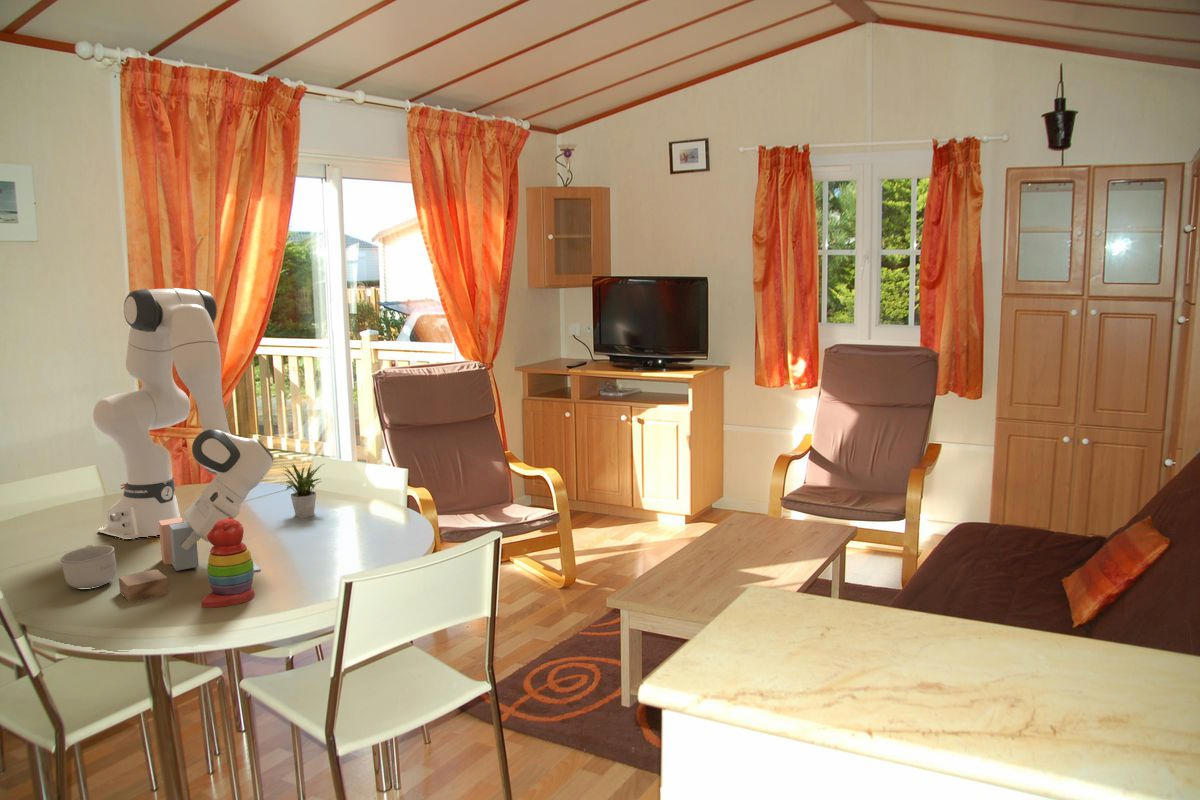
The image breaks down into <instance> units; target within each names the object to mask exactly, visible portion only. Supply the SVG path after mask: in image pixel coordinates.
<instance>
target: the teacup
mask: <svg viewBox="0 0 1200 800" xmlns="http://www.w3.org/2000/svg"><path fill="white" fill-rule="evenodd" d="M60 561H61V564H62V565H61V566H62V572H63V575H64V579H65V582H66V583H67V584H68V586H70V587H71V588H75V589H76V588H92V587H97V586H101V585H104V584H106V585H108V584H107V583H108V582H109V583H110V582H111V580H112V579H113V578H114V577H115V575H116V574H117V562H116V561H117V560H116V555H115V547H114V546H112V545H106V544H105V545H104V544H103V545H102V544H101V545H92V544H90V545H86V546H85V547H82V548H77V549H75V550H72V551H69V552H67V553H65V554H63V555H62V556H61V557H60ZM104 586H105V585H104Z"/></svg>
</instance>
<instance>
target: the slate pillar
mask: <svg viewBox="0 0 1200 800" xmlns="http://www.w3.org/2000/svg"><path fill="white" fill-rule="evenodd" d="M183 522H184V523H178V524H171V525H169V530H170V541H171V553H172V564H171V566H173V568H174V571H181V570H188V569H192V568H194V569H195V568H198V567H200V566H199V555H198V545H197V544H198V543H197V542H198V541H197V542H196V543H194V544H193V545H192V546H191V547H190V548H189V549H188V550H185V549H184V548H182V547H181V543H182V542H183V541H184V540H185V539H187V538H188V537H189V536H190V535H191V533H192V532H193V531H194V530H193V529H192V528H191V526H190V524H189V523H188V522H187V521H183Z"/></svg>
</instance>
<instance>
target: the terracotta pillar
mask: <svg viewBox="0 0 1200 800" xmlns="http://www.w3.org/2000/svg"><path fill="white" fill-rule="evenodd" d="M181 518H182V517H180V518H174V519H167V520H161V521H158V522H159V533H160V536H159V541H160V542H159V543H160V551H161V552H160V553H161V554H160V555H161V561H162V560H163V561H162V563H163V564H164V563H165V564H169V565H172V564H171V563H172V553H171V541H170V530H169V525H171V524H178V523H184V522H185V521H184V519H183V518H182V519H183V520H182V519H181ZM165 564H164V565H165Z"/></svg>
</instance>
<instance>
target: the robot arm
mask: <svg viewBox="0 0 1200 800" xmlns="http://www.w3.org/2000/svg"><path fill="white" fill-rule="evenodd" d="M123 303H124V304H123V314H124V318H125V321H126V323H127V325H129V326H130V329H129V334H128V342H127V350H126V357H125V358H126V359H125V368H126V371H127V372H128V375H130V376H131V377H132V378H134V379H136V380H138V381H140V382H141V388H140V389H139V390H137V391H136V390H135V391H130V392H129V391H128V392H122V393H121V392H120V393H115V394H113V395H110V396H106V397H105V398H101V399H99V400H98V401H97V402H96V404H95V406H94V409H93V413H92V414H93V415H92V416H93V422H94V424H95V426H96V427H97V429H98V430H99V431H100V432H101V433H103V434H105V435H106V436H108V437H109V438H111V439H112V440H113V441H114V442H115V443H116V445H118V447H119V449H120V451H121V454H122V456H123V459H124V465H125V472H126V483H122V484H120V490H123V496H122V497H120V499H119V500H117V501H116V502H115V503H114V504H113V505H112V506H111V507H110V508H109V509H108V510H107V513H106V524H105V525H103V526H107V527H104V528H103V526H101V527H102V528H101V527H99V528H98V529H97V531H98V530H101V531H104V532H107V533H110V534H114V535H117V536H120V537H123V538H138V537H147V538H149V537H148V536H153V535H160V533H159V522H158V521H161V520H167V519H174V518H181V519H182V520H183V521H184V520H185V522H188V523H189V524H190V526H191V528H192V529H193V530H194V531H193V532H192V533H191V535H190V536H189V537H188V538H187V539H185V540H184V541H183V542H182V543H181V547H182V548H184V549H185V550H188V549H189V548H190V547H191V546H192V545H193V544H194V543H196V542H198V541H200V540H201V539H203V540H204V541H205V542H208V543H209V540H208V539H207V533H208V532H209V531H211V530H212V528H213V527H214V525H215V523H216V522H218V521H220V520H222V519H228V517H229V516H230V517H232V518H233V519H236V517H238V516H239V514H240V511H241V510H240V508H241V505H242V504H243V502H244V501H245V500H246V498H247V496H248V494H249V493H250V492H251V491H252V490H253V489H254V488H256V487H257V486H258V485H259V484H260V483H261V482H262V481H263V479H264V478H265V477H266V475H267V474H268V472H269V471H270V470H271V468H272V466H273V464H274V456H273V454H272V453H271V451H270V450H269V449H268V447H266V446H265V445H264V443H263V442H262V441H261V440H259V439H258V438H256V437H253V438H252V437H251V438H248V437H241V436H237V435H234V434H232V432H231V431H232V430H231V429H230V425H229V420H228V415H227V412H226V411H227V410H226V406H225V402H224V397H223V388H222V387H223V384H222V383H223V382H222V380H223V379H222V357H221V350H220V344H219V339H218V335H217V332H216V329H215V325H214V322H215V320H216V318H217V315H218V314H217V313H218V308H217V303H216V301H215V298H214V297H213V295H212V294H211V293H210V292H208V291H205V290H201V289H197V288H194V289H187V288H180V287H169V288H154V289H147V288H141V289H136V290H135V289H134V290H132V291H131V292H129V293H128V294H127V296H126V298H125V300H124V302H123ZM173 365H174V367H175V369H176V372H177V375H178V377H179V379H180V380H181V381H182V383H183V384H184V385H185V387H186V388H187V390H188V391H189V393H190V394H191V395H192V397H193V400H194V402H195V403H196V407H197V411H198V415H199V416H198V417H199V420H200V424H201V429H202V432H201V433H199V434H198V435H197V436H196V437H195V438H194V440H193V443H192V446H191V453H192V455H193V458H194V460H195V461H196V463H198V464H199V465H200V466H201V467H202V468H203V469H205V470H206V471H207V472H208V473H210V474H212V475H215V476H214V478H213V479H212V480H211V481H210V482H209V483H208V484H207V486H206V487H204V489H203V490H202V492H201V494H200V496H198V497H197V498H196V500H194V501H193V502H192V504H190V505H189V506H188V507H187V508H186V510H185V511H184V513H183V514H182V517H183V518H182V517H181V514H180V508H179V505H178V500H177V496H176V494H175V491H176V488H175V487H176V486H175V485H176V483H175V479H174V477H173V475H172V463H171V462H172V461H171V453H170V452H169V450H168V449H167V448H166V447H165V446H163V445H161V444H159V443H157V442H154V441H153V439H152V437H151V434H150V431H153V430H158V429H163V428H169V427H172V426H175V425H178V424H179V423H182V422H184V421H186V420H187V419H188V418H189V415H190V413H191V402H190V401H191V400H190V398H189V396H188V395H187V393H186V392H185V391H184V390H183V389H181V388H179V386H178V385H177V384H176V382H175V379H174V376H173ZM138 539H139V538H138Z"/></svg>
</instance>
